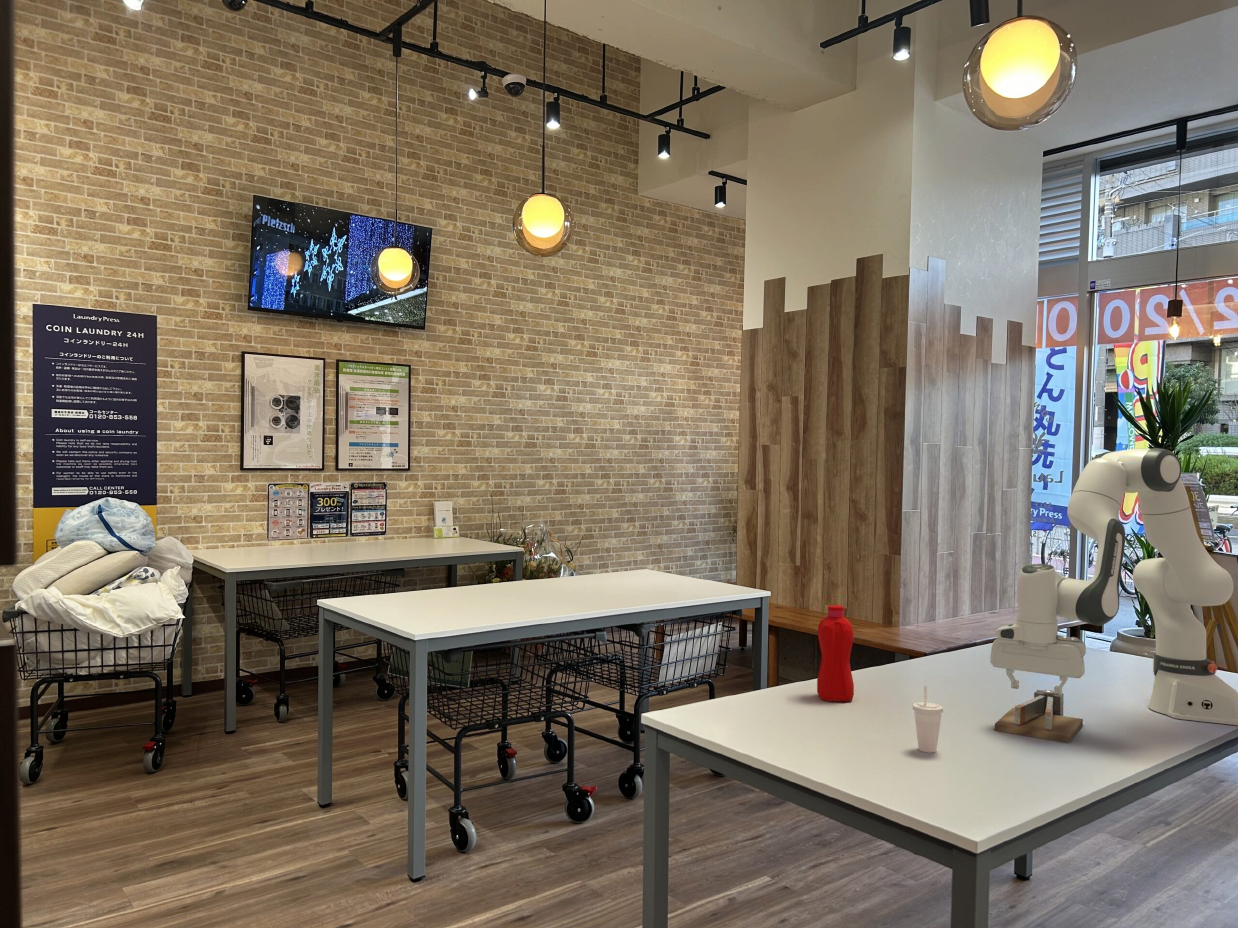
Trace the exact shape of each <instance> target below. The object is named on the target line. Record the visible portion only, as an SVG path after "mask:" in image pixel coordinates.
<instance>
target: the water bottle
mask: <svg viewBox="0 0 1238 928" xmlns="http://www.w3.org/2000/svg"><path fill="white" fill-rule="evenodd" d="M817 627H818V628H817V637H818V643H819V648H820V652H821V661H820V666H819V671H818V675H817V681H816V683H817V684H816V693H817V695H818V698H820V699H821V700H823V701H825V702H840V703H841V702H842V703H847V702H851V701H852V700H853V699H854V697H855V696H854V695H855V683H854V678H853V673H852V670H851V664H850V660H851V659H850V658H851V655H852V649H853V648H852V647H853V643H854V638H855V634H854V632H855V631H854V627H853V625H852V623H851V621H849V619H847V618H846V617H845V606H843V605H839V604H831V605H827V616H825V617H824V618H822V619H821V620H820V622H819V624H818V626H817Z"/></svg>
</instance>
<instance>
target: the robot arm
mask: <svg viewBox="0 0 1238 928" xmlns="http://www.w3.org/2000/svg"><path fill="white" fill-rule="evenodd" d="M1181 475H1182V465H1181V463H1180V460H1179V458H1178V457H1177V455H1176V454H1174V453H1173V452H1172V451H1171V450H1168V449H1165V448H1158V447H1155V448H1154V447H1153V448H1129V449H1128V448H1127V449H1123V450H1117V451H1116V450H1115V451H1105V452H1101V453H1099V454H1097V455H1096V456H1093V458H1092V459H1091V460H1090V461H1089V462H1088V463H1086V465H1085V466H1084V468H1083V470H1082V472H1081V473H1080V475H1079V477H1078V479H1077V481H1076V483H1075V485H1074V487H1073V489H1072V492H1071V495H1070V498H1069V500H1068V503H1067V504H1068V505H1067V509H1066V510H1067V513H1066V514H1067V518H1068V521H1070V523H1071V525H1072V526H1073V527H1074V528H1075V529H1076V530H1077V531H1078V532H1080V533H1082V534H1083V535H1084V536H1087V537H1089V538H1091V539H1093V540H1094V541H1096V544H1097V552H1096V553H1097V554H1096V560H1095V566H1094V572H1093V573H1094V574H1093V576H1092V577H1091V578H1089V580H1084V579H1076V578H1071V577H1067V576H1064V575H1062V574H1060V573H1058V572H1057V570H1056V567H1055V566H1053V565H1051V564H1047V563H1033V564H1028V565H1025V566H1024V567H1022V568H1021V569H1020V571H1019V573H1018V579H1017V584H1016V585H1017V586H1016V602H1017V603H1016V604H1017V607H1018V610H1017V611H1018V612H1017V614H1016V623H1012V624H1008V625H1007V624H1006V625H1003V626H1000V627H998V628H997V629H996V630H995V637H996V638H995V639H994V641H993V642H992V644H991V650H990V664H991V665H992V667H993V668H999V669H1005V675H1006V676H1007V678H1008V679H1009V681H1010V688H1011V689H1015V690H1018V689H1019V688H1020V680H1018V679H1016V677H1015V676H1014V673H1015V671H1020V672H1026V673H1036V674H1042V675H1050V676H1058V677H1059V681H1061V682H1060V683H1059V685H1055V686H1054V687H1053V691H1054V694H1055V695H1062V693H1063V688H1064V686H1065V684H1066V683H1067V682H1068V679H1069V678H1073V679H1081V678H1082V677H1084V675H1085V672H1086V670H1085V666H1086V665H1085V658H1084V657H1085V655H1086V654H1087V653H1086V652H1087V649H1086V648H1087V646H1086V643H1085V641H1083V640H1081V639H1079V637H1075V636H1071V637H1070V636H1066V635H1058V634H1059V633H1058V628H1059V627H1058V626H1059V625H1058V618H1059V617H1060V618H1064V619H1067V620H1073V621H1074V620H1075V621H1079V622H1083V623H1086V624H1090V625H1093V626H1097V627H1100V626H1104V625H1106V624H1108V623H1109V622H1110V621H1112V620H1113V619H1114V618H1115V617H1116V616H1117V614H1118V613H1119V610H1120V583H1121V582H1120V581H1121V574H1122V570H1123V569H1122V568H1123V561H1124V555H1125V547H1126V529H1125V525H1124V524H1123V523H1122V522H1121V521H1120V518H1119V517H1120V510H1121V506H1122V503H1123V500H1124V496H1125V493H1127V494H1135V493H1137V494H1138V495H1137V497H1138V505H1139V511H1140V515H1141V519H1142V525H1143V528H1144V532H1145V538H1146V540H1147V542H1148V543H1149V545H1151V546H1152V547H1153V548H1154V549H1156V550H1157V551H1158V552H1159V553H1160V554H1161V556H1162V557H1153V558H1147V559H1143V560H1141V561H1139V562H1137V564H1136V565H1135V567H1134V569H1133V571H1132V582H1133V584H1134V587H1135V588H1136V590H1137V591H1138V592H1139V593H1141V595H1142V597H1143V598H1144V599H1145V600H1146V602H1147V605H1148V608H1149V609H1150V612H1151V615H1152V618H1153V623H1154V630H1155V631H1154V633H1155V636H1154V637H1155V652H1154V654H1153V658H1152V672H1153V676H1154V678H1153V679H1154V680H1153V686H1152V691H1151V694H1150V695H1151V696H1150V699H1149V703H1148V705H1147V706H1148V709H1150V710H1152V711H1154V712H1157V713H1159V714H1164V715H1167V716H1169V717H1171V718H1173V719H1177V720H1187V721H1193V722H1205V723H1213V724H1214V723H1215V724H1223V725H1229V726H1230V725H1232V726H1238V691H1237V690H1236V689H1235V688H1233V687H1232V686H1231V685H1229V683H1227V682H1225V681H1224V680H1223V679H1221V678H1220V677H1219V676H1217V674H1216V673H1217V671H1218V666H1217V664H1216V663H1215V661H1213V660H1210V659H1209V658H1207V629H1206V627H1205V626H1204V623H1202V622H1201V621H1200V620H1199V619H1198V618H1197V617H1196V615H1195V614H1194V613H1193V610H1192V608H1191V605H1193V606H1198V607H1212V606H1213V607H1214V606H1222V605H1225V604H1226V603H1227V602H1228V601H1229V600H1230V599H1231V597H1232V595H1233V592H1234V588H1235V587H1234V580H1233V578H1232V576H1231V574H1230V572H1228V570H1226V569H1225V568H1223V567H1222V566H1221V565H1219V564H1218V563H1217V562H1216V561H1215V559H1213V557H1212V556H1211V555H1210V554H1209V552H1208V551H1207V549H1206V548H1205V546H1204V544H1203V543H1202V541H1201V539H1200V537H1199V535H1198V532H1197V528H1196V525H1195V520H1194V517H1193V516H1194V515H1193V513H1192V507H1191V504H1190V499H1189V496H1188V492H1187V490H1186V487H1185V485H1184V482H1183V480H1182V478H1181Z"/></svg>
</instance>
